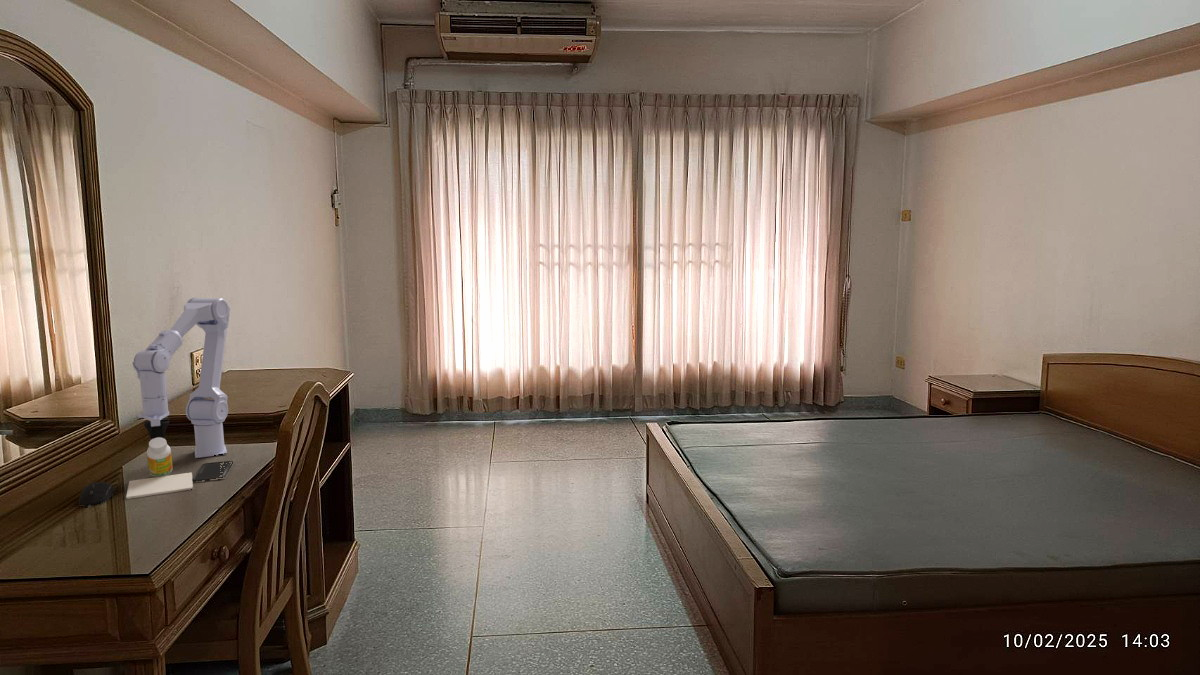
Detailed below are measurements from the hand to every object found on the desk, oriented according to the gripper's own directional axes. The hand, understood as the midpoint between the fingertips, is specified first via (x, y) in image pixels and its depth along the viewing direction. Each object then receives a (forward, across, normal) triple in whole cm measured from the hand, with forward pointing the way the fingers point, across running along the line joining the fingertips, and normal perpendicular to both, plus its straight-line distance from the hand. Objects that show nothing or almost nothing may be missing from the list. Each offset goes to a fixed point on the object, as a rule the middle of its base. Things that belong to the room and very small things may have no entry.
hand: (159, 447), depth 207 cm
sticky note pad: (+7, +12, 0) cm, 14 cm away
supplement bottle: (+6, +1, 0) cm, 6 cm away
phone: (+8, +6, +12) cm, 15 cm away
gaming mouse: (+8, +16, -14) cm, 22 cm away
